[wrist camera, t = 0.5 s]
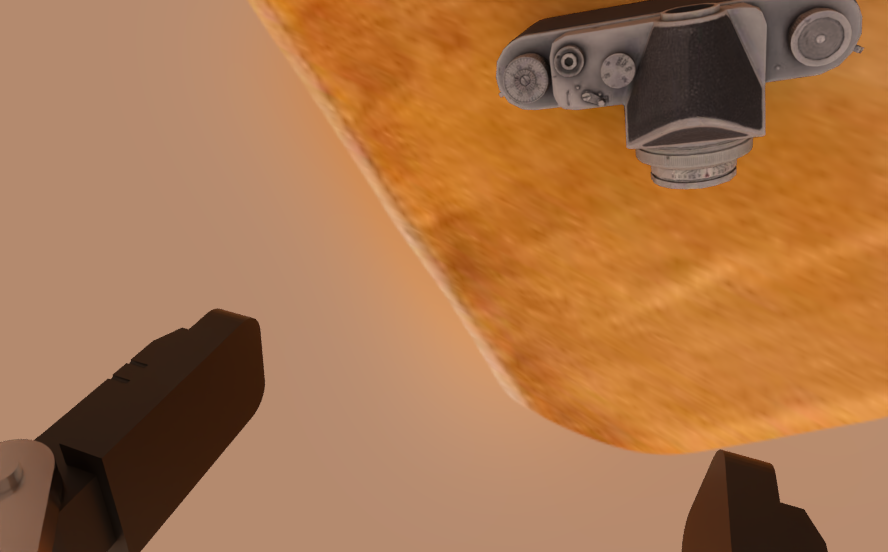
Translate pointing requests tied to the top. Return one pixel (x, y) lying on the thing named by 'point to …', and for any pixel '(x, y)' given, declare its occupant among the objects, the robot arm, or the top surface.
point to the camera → (679, 72)
